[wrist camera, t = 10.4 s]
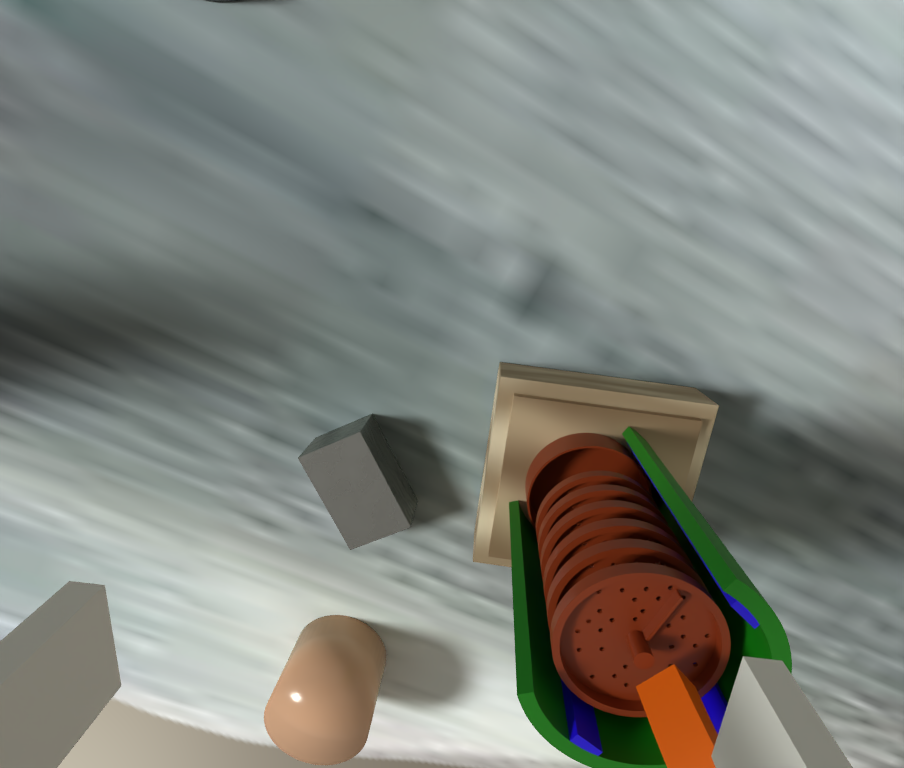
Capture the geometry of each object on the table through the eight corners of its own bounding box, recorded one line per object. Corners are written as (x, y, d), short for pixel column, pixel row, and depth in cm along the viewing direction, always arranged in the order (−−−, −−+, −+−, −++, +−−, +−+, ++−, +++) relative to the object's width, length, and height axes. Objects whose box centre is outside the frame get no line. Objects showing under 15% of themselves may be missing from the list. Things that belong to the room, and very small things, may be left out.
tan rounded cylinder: (298, 608, 45) (264, 674, 38) (389, 622, 44) (372, 691, 38) (295, 681, 47) (263, 756, 40) (382, 695, 47) (364, 772, 40)
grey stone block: (316, 436, 40) (297, 457, 36) (372, 412, 39) (360, 431, 36) (363, 521, 42) (350, 550, 38) (418, 500, 41) (410, 527, 37)
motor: (591, 395, 33) (733, 619, 14) (694, 477, 34) (960, 794, 15) (489, 504, 35) (489, 821, 16) (588, 578, 37) (696, 958, 17)
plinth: (499, 362, 37) (500, 379, 33) (695, 387, 37) (722, 408, 32) (474, 531, 41) (472, 566, 37) (650, 556, 41) (670, 595, 36)
